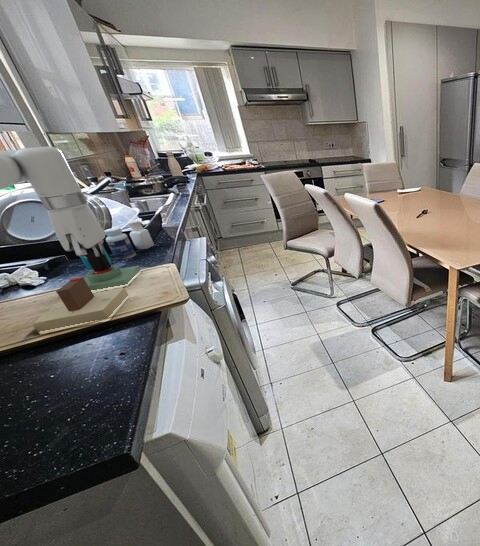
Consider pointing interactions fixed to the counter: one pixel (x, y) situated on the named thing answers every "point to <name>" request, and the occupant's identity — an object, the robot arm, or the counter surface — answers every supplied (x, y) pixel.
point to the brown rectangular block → (75, 294)
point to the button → (102, 271)
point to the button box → (111, 277)
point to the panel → (82, 311)
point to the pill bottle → (119, 243)
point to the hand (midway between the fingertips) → (103, 269)
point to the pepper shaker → (140, 236)
